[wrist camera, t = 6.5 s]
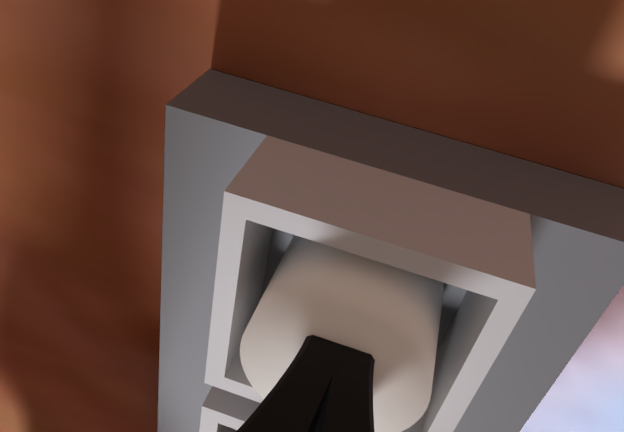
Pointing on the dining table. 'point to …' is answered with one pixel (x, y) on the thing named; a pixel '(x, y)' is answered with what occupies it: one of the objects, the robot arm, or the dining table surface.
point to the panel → (373, 248)
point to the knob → (349, 325)
